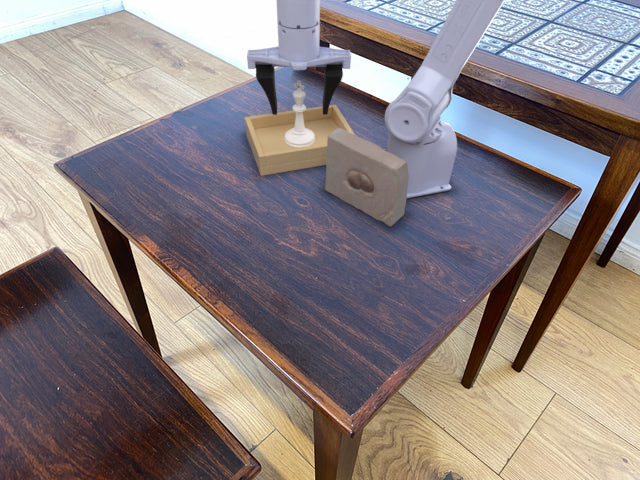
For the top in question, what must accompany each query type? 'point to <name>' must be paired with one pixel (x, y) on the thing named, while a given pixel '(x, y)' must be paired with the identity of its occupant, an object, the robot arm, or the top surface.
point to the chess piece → (299, 122)
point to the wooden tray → (280, 156)
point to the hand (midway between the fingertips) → (299, 111)
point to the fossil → (366, 176)
